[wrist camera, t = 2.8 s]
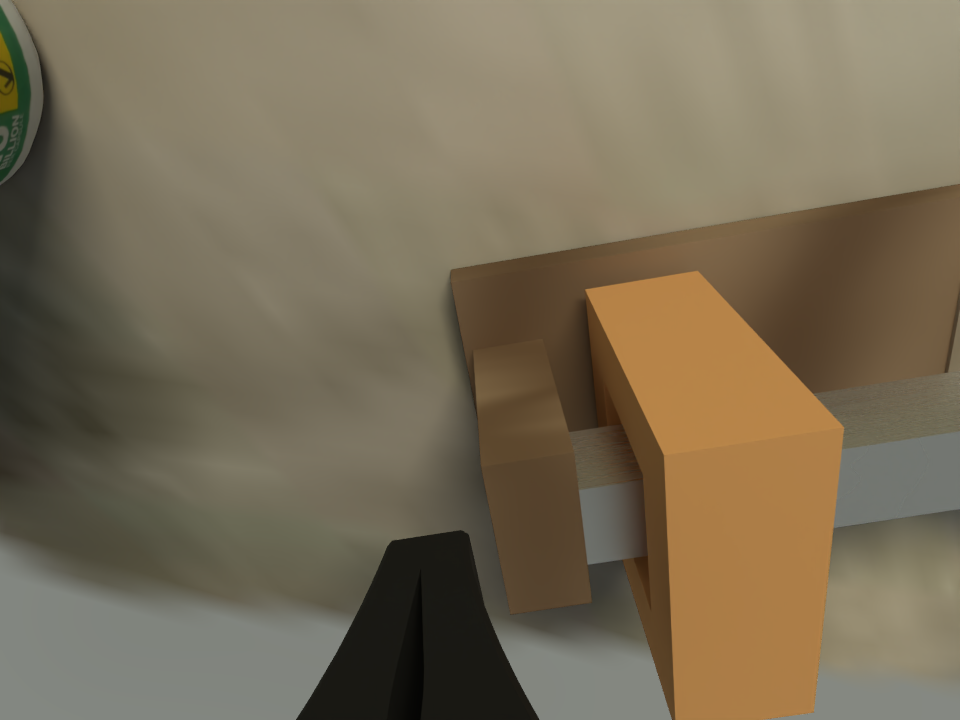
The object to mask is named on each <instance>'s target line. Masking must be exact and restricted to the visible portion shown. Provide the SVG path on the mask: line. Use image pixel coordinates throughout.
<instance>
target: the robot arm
mask: <svg viewBox="0 0 960 720" xmlns="http://www.w3.org/2000/svg"><path fill="white" fill-rule="evenodd" d="M296 720H539V718H538V716H537V714H536V713H535V711H534V709H533V708H532V706H531V704H530V702H529V700H528V699H527V697H526V695H525V693H524V691H523V689H522V687H521V685H520V683H519V682H518V680H517V678H516V676H515V674H514V672H513V670H512V668H511V666H510V663H509V661H508V659H507V657H506V655H505V653H504V651H503V649H502V647H501V644H500V642H499V640H498V638H497V635H496V633H495V631H494V628H493V626H492V623H491V621H490V618H489V616H488V613H487V611H486V608H485V606H484V601H483V597H482V592H481V588H480V583H479V579H478V574H477V570H476V565H475V561H474V556H473V552H472V547H471V543H470V538H469V535H468V534H467V533H465V532H463V531H462V530H460V531H453V532H447V533H440V534H434V535H427V536H420V537H414V538H407V539H401V540H394V541H392V542H391V543H390V544H389V545H388V546H387V549H386V551H385V553H384V556H383V558H382V561H381V563H380V565H379V568H378V570H377V572H376V575H375V577H374V579H373V581H372V584H371V586H370V588H369V590H368V592H367V594H366V596H365V598H364V600H363V603H362V605H361V607H360V609H359V611H358V613H357V615H356V617H355V618H354V620H353V622H352V624H351V626H350V628H349V630H348V632H347V634H346V636H345V638H344V640H343V642H342V644H341V646H340V647H339V649H338V651H337V653H336V655H335V656H334V658H333V660H332V662H331V663H330V665H329V666H328V668H327V670H326V672H325V674H324V675H323V677H322V679H321V680H320V682H319V684H318V686H317V687H316V689H315V690H314V692H313V694H312V696H311V697H310V699H309V700H308V702H307V704H306V705H305V707H304V708H303V710H302V711H301V713H300V714H299V716H298V718H297V719H296Z"/></svg>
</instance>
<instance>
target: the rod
mask: <svg viewBox="0 0 960 720" xmlns="http://www.w3.org/2000/svg"><path fill="white" fill-rule="evenodd" d="M813 395H814V396H815V397H816V398H817V399H818V400H819V401H820V402H821V403H822V404H823V405H824V406H825V407H826V408H827V409H828V411H829V412H830V413H831V414H832V415H833V416H834V417H835V418H836V419H837V420H838V421H839V422H840V423H841V424H842V426H843V427H844V434H843V444H842V453H841V462H840V472H839V481H838V490H837V500H836V509H835V518H834V528H837V527H843V526H850V525H857V524H864V523H870V522H877V521H884V520H890V519H897V518H904V517H910V516H917V515H924V514H930V513H937V512H944V511H950V510H957V509H960V371H955V372H949V373H942V374H936V375H930V376H923V377H917V378H911V379H904V380H898V381H891V382H885V383H879V384H872V385H866V386H860V387H853V388H847V389H841V390H834V391H828V392H822V393H815V394H813ZM569 435H570V438H571V442H572V446H573V449H574V454H575V462H576V470H577V479H578V487H579V496H580V504H581V513H582V521H583V529H584V538H585V546H586V555H587V563H588V565H589V564H596V563H603V562H610V561H616V560H623V559H630V558H636V557H643V556H648V550H647V534H646V518H645V502H644V486H643V474H642V471H641V469H640V466H639V464H638V461H637V459H636V457H635V454H634V452H633V449H632V447H631V444H630V442H629V440H628V437H627V435H626V432H625V430H624V427H623V425H622V424H619V425H612V426H606V427H600V428H593V429H587V430H580V431H574V432H569Z"/></svg>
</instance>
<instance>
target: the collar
mask: <svg viewBox="0 0 960 720" xmlns="http://www.w3.org/2000/svg"><path fill="white" fill-rule="evenodd" d="M585 295H586V306H587V316H588V326H589V337H590V347H591V358H592V368H593V378H594V389H595V399H596V409H597V420H598V428H600V427H606V426H612V425H619V424H622V425H623V427H624V430H625V432H626V435H627V437H628V440H629V442H630V444H631V447H632V449H633V452H634V454H635V457H636V459H637V461H638V464H639V466H640V469H641V471H642V474H643V486H644V502H645V518H646V534H647V550H648V556H643V557H636V558H630V559H623V564H624V567H625V570H626V573H627V576H628V580H629V583H630V586H631V589H632V592H633V596H634V599H635V602H636V605H637V608H638V612H639V615H640V618H641V621H642V625H643V628H644V631H645V634H646V637H647V641H648V644H649V647H650V650H651V653H652V657H653V660H654V663H655V666H656V669H657V673H658V676H659V679H660V682H661V685H662V689H663V692H664V695H665V698H666V702H667V705H668V708H669V711H670V714H671V717H672V720H763V719H771V718H778V717H785V716H792V715H800V714H806V713H813V712H814V704H815V696H816V686H817V677H818V668H819V659H820V649H821V640H822V631H823V621H824V612H825V602H826V593H827V584H828V574H829V565H830V556H831V546H832V537H833V528H834V518H835V509H836V500H837V490H838V481H839V472H840V462H841V453H842V444H843V434H844V427H843V426H842V424H841V423H840V422H839V421H838V420H837V419H836V418H835V417H834V416H833V415H832V414H831V413H830V412H829V411H828V409H827V408H826V407H825V406H824V405H823V404H822V403H821V402H820V401H819V400H818V399H817V398H816V397H815V396H814V395H813V393H812V392H811V391H810V390H809V389H808V388H807V387H806V386H805V385H804V384H803V383H802V382H801V381H800V380H799V378H798V377H797V376H796V375H795V374H794V373H793V372H792V371H791V370H790V369H789V368H788V367H787V366H786V365H785V364H784V362H783V361H782V360H781V359H780V358H779V357H778V356H777V355H776V354H775V353H774V352H773V351H772V350H771V349H770V347H769V346H768V345H767V344H766V343H765V342H764V341H763V340H762V339H761V338H760V337H759V336H758V335H757V334H756V332H755V331H754V330H753V329H752V328H751V327H750V326H749V325H748V324H747V323H746V322H745V321H744V320H743V319H742V318H741V316H740V315H739V314H738V313H737V312H736V311H735V310H734V309H733V308H732V307H731V306H730V305H729V304H728V303H727V301H726V300H725V299H724V298H723V297H722V296H721V295H720V294H719V293H718V292H717V291H716V290H715V289H714V288H713V286H712V285H711V284H710V283H709V282H708V281H707V280H706V279H705V278H704V277H703V276H702V275H701V274H700V273H699V272H698V271H693V272H687V273H681V274H675V275H669V276H663V277H657V278H651V279H645V280H639V281H633V282H627V283H621V284H615V285H609V286H603V287H597V288H591V289H585Z"/></svg>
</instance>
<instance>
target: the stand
mask: <svg viewBox="0 0 960 720" xmlns="http://www.w3.org/2000/svg"><path fill="white" fill-rule="evenodd" d="M693 271H698V272H699V273H700V274H701V275H702V276H703V277H704V278H705V279H706V280H707V281H708V282H709V283H710V284H711V285H712V286H713V288H714V289H715V290H716V291H717V292H718V293H719V294H720V295H721V296H722V297H723V298H724V299H725V300H726V301H727V303H728V304H729V305H730V306H731V307H732V308H733V309H734V310H735V311H736V312H737V313H738V314H739V315H740V316H741V318H742V319H743V320H744V321H745V322H746V323H747V324H748V325H749V326H750V327H751V328H752V329H753V330H754V331H755V332H756V334H757V335H758V336H759V337H760V338H761V339H762V340H763V341H764V342H765V343H766V344H767V345H768V346H769V347H770V349H771V350H772V351H773V352H774V353H775V354H776V355H777V356H778V357H779V358H780V359H781V360H782V361H783V362H784V364H785V365H786V366H787V367H788V368H789V369H790V370H791V371H792V372H793V373H794V374H795V375H796V376H797V377H798V378H799V380H800V381H801V382H802V383H803V384H804V385H805V386H806V387H807V388H808V389H809V390H810V391H811V392H812V393H813V394H815V393H822V392H828V391H834V390H841V389H847V388H853V387H860V386H866V385H872V384H879V383H885V382H891V381H898V380H904V379H911V378H917V377H923V376H930V375H936V374H942V373H949V372H955V371H960V184H958V185H952V186H946V187H940V188H934V189H928V190H922V191H916V192H910V193H904V194H898V195H892V196H886V197H881V198H875V199H869V200H863V201H857V202H851V203H845V204H839V205H833V206H827V207H821V208H815V209H809V210H803V211H797V212H791V213H785V214H780V215H774V216H768V217H762V218H756V219H750V220H744V221H738V222H732V223H726V224H720V225H714V226H708V227H702V228H696V229H690V230H684V231H679V232H673V233H667V234H661V235H655V236H649V237H643V238H637V239H631V240H625V241H619V242H613V243H607V244H601V245H595V246H589V247H583V248H578V249H572V250H566V251H560V252H554V253H548V254H542V255H536V256H530V257H524V258H518V259H512V260H506V261H500V262H494V263H488V264H482V265H476V266H471V267H465V268H459V269H453V270H451V286H452V291H453V296H454V301H455V306H456V311H457V316H458V322H459V327H460V332H461V337H462V342H463V347H464V352H465V357H466V363H467V368H468V373H469V378H470V383H471V388H472V393H473V398H474V404H475V409H476V414H477V419H478V430H479V445H480V460H481V469H482V474H483V479H484V484H485V489H486V494H487V499H488V504H489V509H490V514H491V519H492V524H493V529H494V534H495V539H496V544H497V549H498V554H499V559H500V564H501V569H502V574H503V579H504V584H505V589H506V594H507V599H508V604H509V609H510V614H511V615H512V614H518V613H525V612H532V611H539V610H546V609H552V608H559V607H566V606H573V605H579V604H586V603H592V597H591V588H590V580H589V572H588V563H587V555H586V546H585V538H584V529H583V521H582V513H581V504H580V496H579V487H578V479H577V470H576V462H575V454H574V449H573V446H572V442H571V438H570V435H569V432H574V431H580V430H587V429H593V428H598V420H597V409H596V399H595V389H594V378H593V368H592V358H591V347H590V337H589V326H588V316H587V306H586V295H585V289H591V288H597V287H603V286H609V285H615V284H621V283H627V282H633V281H639V280H645V279H651V278H657V277H663V276H669V275H675V274H681V273H687V272H693Z"/></svg>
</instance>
